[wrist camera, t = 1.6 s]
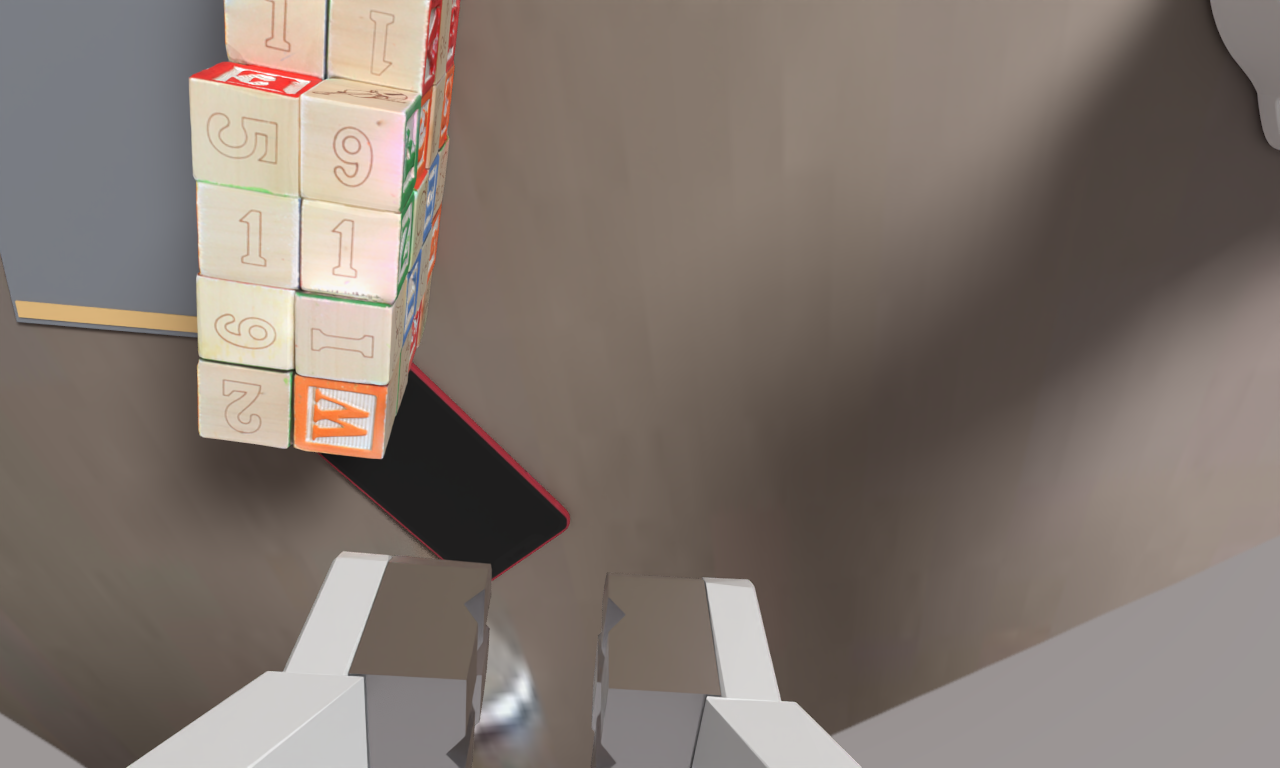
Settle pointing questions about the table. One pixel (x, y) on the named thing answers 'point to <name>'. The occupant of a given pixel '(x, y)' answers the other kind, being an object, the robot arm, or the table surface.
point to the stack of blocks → (318, 216)
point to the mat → (102, 159)
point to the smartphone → (455, 484)
